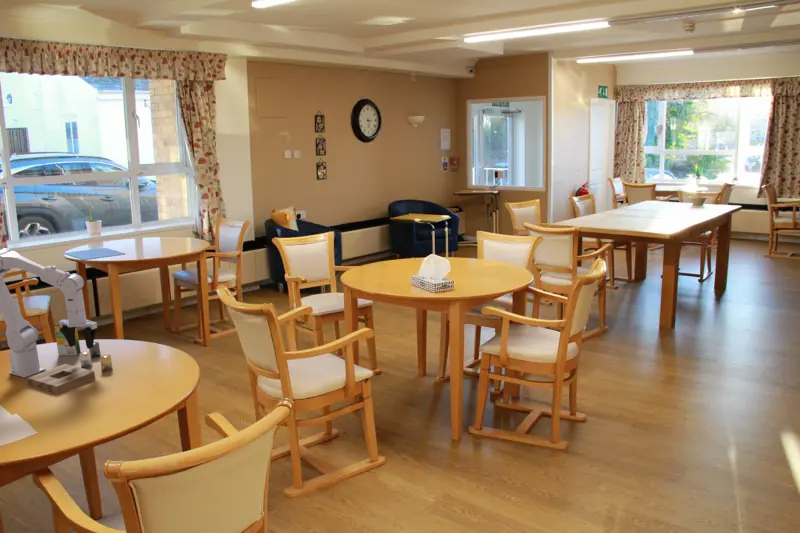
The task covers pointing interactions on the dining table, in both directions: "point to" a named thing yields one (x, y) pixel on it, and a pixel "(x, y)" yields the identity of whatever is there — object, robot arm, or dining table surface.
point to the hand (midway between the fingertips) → (81, 346)
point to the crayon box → (66, 343)
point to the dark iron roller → (95, 350)
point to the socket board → (61, 378)
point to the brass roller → (106, 363)
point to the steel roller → (85, 359)
